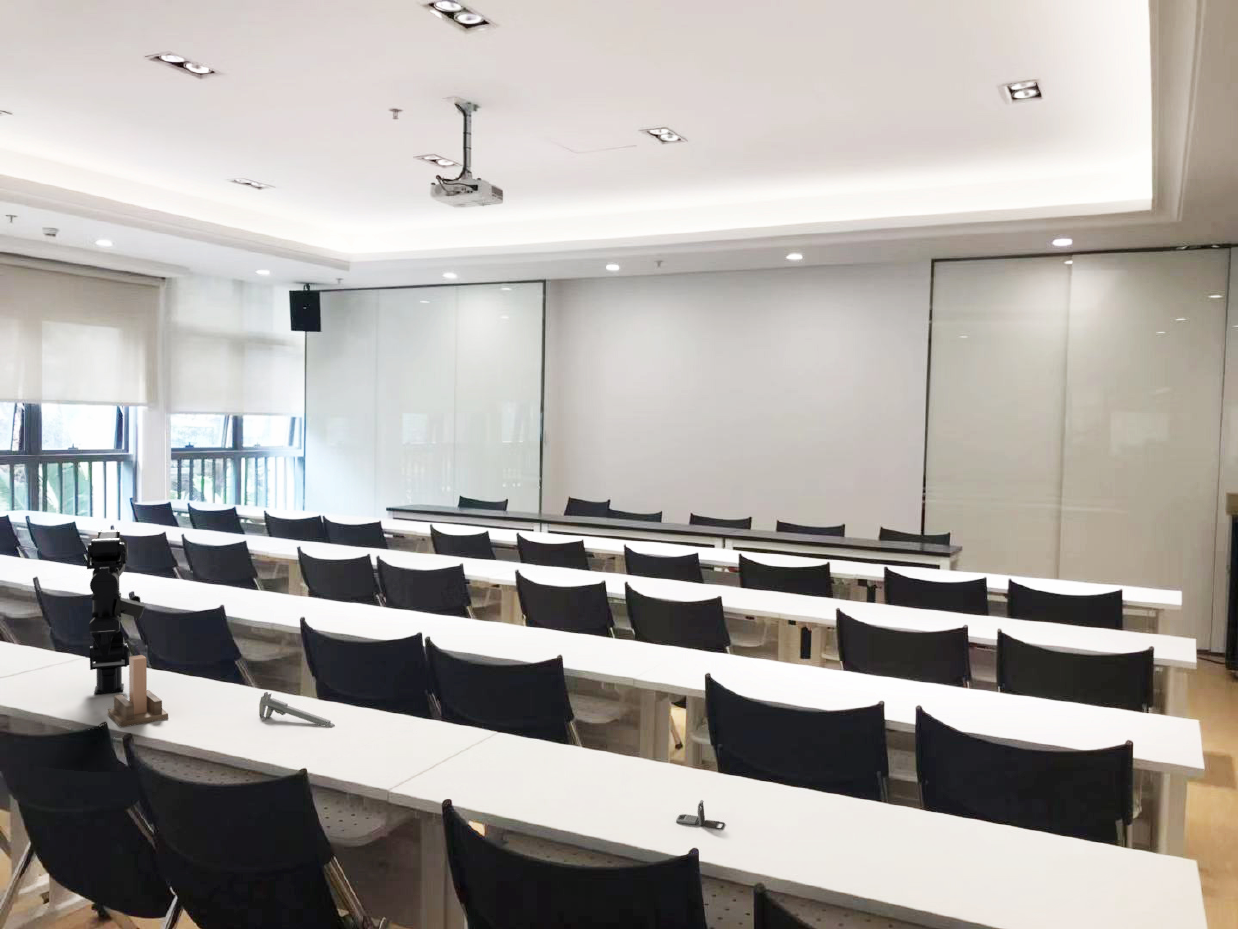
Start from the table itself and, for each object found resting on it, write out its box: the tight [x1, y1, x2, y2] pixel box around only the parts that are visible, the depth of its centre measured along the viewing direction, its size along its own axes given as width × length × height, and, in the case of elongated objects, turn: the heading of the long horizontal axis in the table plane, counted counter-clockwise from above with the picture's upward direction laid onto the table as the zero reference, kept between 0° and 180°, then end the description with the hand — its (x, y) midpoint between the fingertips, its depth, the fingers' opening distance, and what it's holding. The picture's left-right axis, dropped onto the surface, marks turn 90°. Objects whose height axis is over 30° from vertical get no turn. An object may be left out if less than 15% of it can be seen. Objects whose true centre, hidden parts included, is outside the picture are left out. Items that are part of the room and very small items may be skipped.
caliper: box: [258, 691, 336, 728], centre depth 216 cm, size 20×1×6 cm, turn 72°
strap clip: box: [675, 799, 726, 831], centre depth 165 cm, size 8×3×4 cm, turn 73°
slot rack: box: [107, 689, 169, 728], centre depth 218 cm, size 12×10×4 cm
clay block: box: [128, 654, 148, 714], centre depth 218 cm, size 4×3×13 cm
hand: (106, 653), depth 225 cm, fingers open, 9 cm apart
